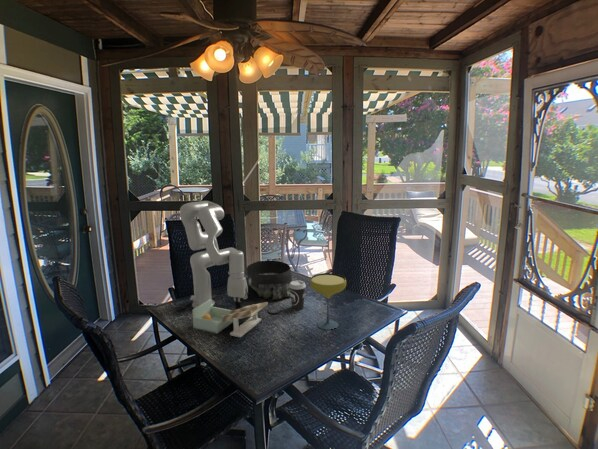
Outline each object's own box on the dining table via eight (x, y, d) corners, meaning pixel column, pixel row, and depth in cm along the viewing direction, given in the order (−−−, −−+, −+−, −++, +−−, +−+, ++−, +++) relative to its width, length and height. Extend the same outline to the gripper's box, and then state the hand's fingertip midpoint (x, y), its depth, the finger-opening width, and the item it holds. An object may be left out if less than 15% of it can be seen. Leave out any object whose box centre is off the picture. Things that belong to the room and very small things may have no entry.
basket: (244, 303, 223) (243, 277, 220) (249, 282, 257) (248, 259, 254) (292, 302, 225) (292, 275, 221) (291, 281, 259) (290, 258, 255)
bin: (193, 328, 193) (192, 309, 191) (211, 316, 206) (210, 299, 204) (217, 333, 187) (216, 314, 185) (234, 321, 200) (233, 303, 198)
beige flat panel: (222, 322, 188) (220, 316, 188) (240, 309, 203) (238, 304, 202) (251, 316, 180) (249, 311, 180) (268, 303, 194) (266, 298, 194)
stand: (230, 335, 185) (229, 318, 184) (251, 318, 203) (251, 303, 201) (240, 337, 183) (239, 320, 181) (261, 320, 201) (260, 304, 199)
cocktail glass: (336, 315, 206) (336, 271, 201) (351, 329, 190) (352, 282, 184) (305, 320, 200) (304, 275, 195) (318, 336, 183) (318, 287, 178)
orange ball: (207, 324, 195) (201, 322, 197) (212, 320, 199) (206, 319, 201) (207, 316, 195) (201, 315, 196) (212, 313, 198) (206, 312, 200)
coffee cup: (304, 312, 210) (304, 286, 207) (287, 310, 212) (287, 285, 209) (307, 305, 219) (307, 280, 216) (291, 303, 221) (290, 279, 218)
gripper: (220, 275, 194) (222, 308, 198) (245, 279, 188) (247, 313, 192) (229, 270, 201) (230, 303, 205) (253, 274, 195) (254, 307, 199)
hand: (238, 308), depth 198 cm, fingers closed
